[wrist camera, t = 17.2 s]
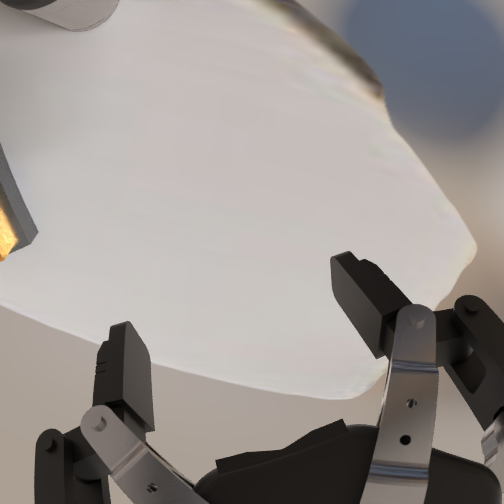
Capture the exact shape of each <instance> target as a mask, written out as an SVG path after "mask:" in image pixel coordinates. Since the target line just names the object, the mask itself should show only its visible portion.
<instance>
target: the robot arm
mask: <svg viewBox="0 0 504 504" xmlns="http://www.w3.org/2000/svg"><path fill="white" fill-rule="evenodd" d="M0 1H1V2H2V3H4V4H6V5H8V6H10V7H13V8H16V9H19V10H22V11H25V12H27V13H30V14H33V15H35V16H38V17H40V18H43V19H45V20H47V21H50V22H52V23H54V24H57V25H59V26H61V27H64V28H66V29H68V30H72V31H87V30H90V29H93V28H95V27H97V26H99V25H101V24H102V23H103V22H105V21H106V20H107V19H108V18H109V17H110V16H111V15H112V13H113V12H114V11H115V9H116V7H117V5H118V1H119V0H0ZM330 264H331V279H332V290H333V294H334V296H335V299H336V301H337V302H338V304H339V305H340V306H341V308H342V309H343V311H344V312H345V314H346V315H347V317H348V318H349V320H350V321H351V322H352V324H353V325H354V327H355V328H356V330H357V331H358V333H359V334H360V336H361V337H362V339H363V340H364V342H365V343H366V345H367V346H368V347H369V349H370V350H371V352H372V353H373V355H374V356H375V358H376V359H378V358H381V357H383V356H385V355H386V357H387V358H388V360H389V363H388V369H387V375H386V382H385V387H384V393H383V398H382V402H381V407H380V411H379V415H378V420H377V424H376V426H372V425H365V424H364V425H363V424H355V425H347V426H346V425H345V423H344V421H343V419H340V420H338V421H335V422H333V423H331V424H328V425H326V426H323V427H320V428H318V429H315V430H313V431H311V432H309V433H308V434H306V435H305V436H303V437H302V438H300V439H298V440H297V441H295V442H294V443H292V444H291V445H289V446H287V447H286V448H284V449H281V450H273V451H259V452H245V453H242V454H238V455H234V456H230V457H226V458H223V459H218V460H216V466H217V468H216V469H214V470H212V471H211V472H209V473H207V474H206V475H205V476H204V477H203V478H201V479H200V480H199V481H198V483H197V484H194V483H193V482H192V481H191V480H189V479H188V478H187V477H185V476H184V475H183V474H182V473H180V472H179V471H178V470H177V469H176V468H174V467H173V466H172V465H171V464H170V463H169V462H168V461H167V460H165V459H164V458H163V457H162V456H161V455H160V454H159V453H158V452H157V451H156V450H154V448H153V447H152V446H151V445H149V444H148V443H147V442H146V436H145V433H146V432H151V431H155V427H154V415H153V402H152V384H151V361H150V355H149V352H148V350H147V347H146V346H145V344H144V343H143V341H142V339H141V338H140V336H139V335H138V333H137V332H136V330H135V328H134V327H133V325H132V324H131V322H129V321H126V322H123V323H119V324H116V325H113V326H111V327H110V332H109V340H108V341H104V342H103V343H102V345H101V347H100V349H99V351H98V354H97V363H96V364H97V366H96V372H95V373H96V375H95V381H94V392H93V405H92V408H90V409H89V410H88V411H87V412H86V413H85V414H84V416H83V417H82V420H81V424H80V426H79V427H77V428H75V429H73V430H71V431H69V432H67V433H65V434H62V433H61V432H60V431H58V430H56V429H48V430H45V431H44V432H43V433H42V434H41V435H40V436H39V438H38V440H37V443H36V451H35V476H34V493H35V494H34V495H35V504H111V500H110V493H109V483H108V475H110V476H111V478H112V479H113V480H114V482H115V483H116V484H117V485H118V486H119V487H120V489H121V490H122V491H123V492H124V493H125V494H126V495H127V497H128V498H129V499H130V500H131V501H132V502H133V503H134V504H502V503H501V501H502V493H504V323H503V322H502V320H501V319H500V318H498V316H497V315H496V314H495V313H494V312H493V310H492V309H491V308H490V307H489V306H488V305H487V304H486V303H485V302H484V301H483V300H482V299H480V298H479V297H476V296H473V295H464V296H461V297H460V298H458V299H457V300H456V302H455V305H454V308H452V309H447V310H441V311H432V310H430V309H429V308H428V307H426V306H424V305H420V304H413V303H412V302H411V301H410V300H409V299H408V298H407V297H406V296H405V295H404V294H403V293H402V291H401V290H400V289H399V288H398V287H397V286H396V285H395V284H394V283H393V282H392V281H390V279H389V278H388V276H387V275H386V274H384V272H383V271H382V270H381V269H380V268H379V267H378V266H377V265H376V264H374V263H372V262H370V261H368V260H366V259H363V260H360V261H359V260H358V259H357V258H356V257H355V256H354V255H353V254H352V253H351V252H350V251H347V252H344V253H341V254H338V255H335V256H332V257H331V259H330ZM441 366H443V367H444V369H445V370H446V372H447V373H448V375H449V376H450V378H451V379H452V381H453V382H454V384H455V385H456V387H457V388H458V390H459V391H460V393H461V394H462V396H463V397H464V399H465V401H466V402H467V404H468V405H469V407H470V409H471V410H472V412H473V413H474V415H475V417H476V418H477V420H478V422H479V423H480V425H481V427H482V428H483V430H484V433H483V436H482V440H481V446H482V451H483V454H484V457H485V461H484V465H483V464H480V463H477V462H474V461H471V460H468V459H465V458H462V457H458V456H456V455H452V454H449V453H446V452H443V451H441V450H438V449H435V448H432V441H433V434H434V427H435V418H436V407H437V395H438V382H439V369H438V367H441Z"/></svg>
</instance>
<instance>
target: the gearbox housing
mask: <svg viewBox="0 0 504 504" xmlns="http://www.w3.org/2000/svg"><path fill="white" fill-rule="evenodd" d="M37 233H38V230H37V228H36V226H35V224H34V222H33V220H32V218H31V216H30V214H29V212H28V209H27V207H26V205H25V203H24V201H23V199H22V196H21V194H20V192H19V190H18V187H17V185H16V183H15V180H14V178H13V175H12V173H11V170H10V168H9V165H8V163H7V160H6V158H5V155H4V152H3V149H2V147H1V144H0V262H1V261H3V260H4V259H5V258H6V256H7V255H8V254H10V253H12V252H14V251H16V250H18V249H21V248H23V247H25V246H27V245H30V244H31V243H32V241H33V239H34V238H35V236H36V235H37Z"/></svg>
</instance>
